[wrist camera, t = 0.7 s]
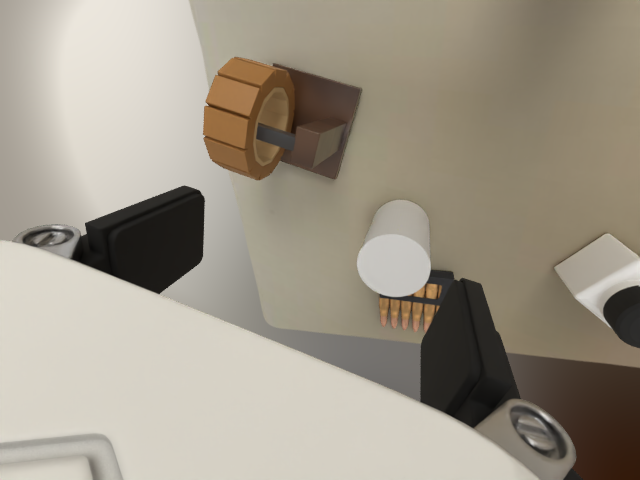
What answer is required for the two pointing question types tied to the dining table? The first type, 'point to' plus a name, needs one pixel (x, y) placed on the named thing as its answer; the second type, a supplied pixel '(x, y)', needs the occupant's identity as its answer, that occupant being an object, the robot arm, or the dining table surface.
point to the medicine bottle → (607, 284)
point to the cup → (396, 250)
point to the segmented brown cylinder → (247, 116)
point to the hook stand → (315, 123)
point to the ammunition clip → (417, 302)
